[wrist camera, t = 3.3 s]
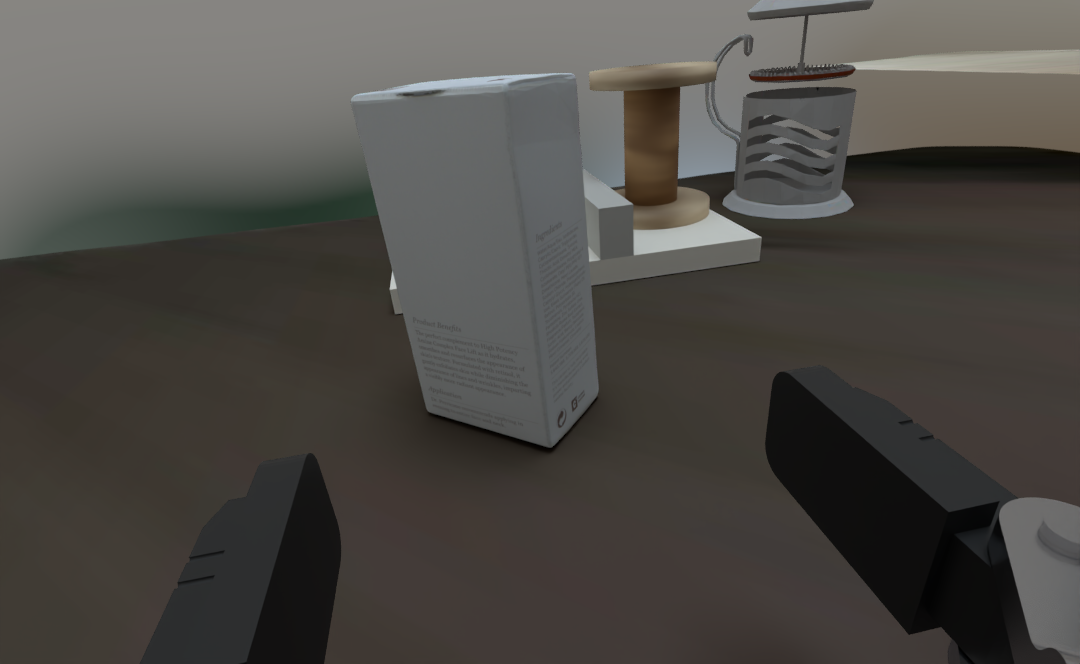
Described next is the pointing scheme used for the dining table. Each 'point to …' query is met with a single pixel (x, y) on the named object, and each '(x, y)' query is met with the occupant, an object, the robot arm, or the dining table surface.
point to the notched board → (650, 242)
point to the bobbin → (656, 140)
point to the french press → (786, 181)
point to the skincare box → (488, 245)
